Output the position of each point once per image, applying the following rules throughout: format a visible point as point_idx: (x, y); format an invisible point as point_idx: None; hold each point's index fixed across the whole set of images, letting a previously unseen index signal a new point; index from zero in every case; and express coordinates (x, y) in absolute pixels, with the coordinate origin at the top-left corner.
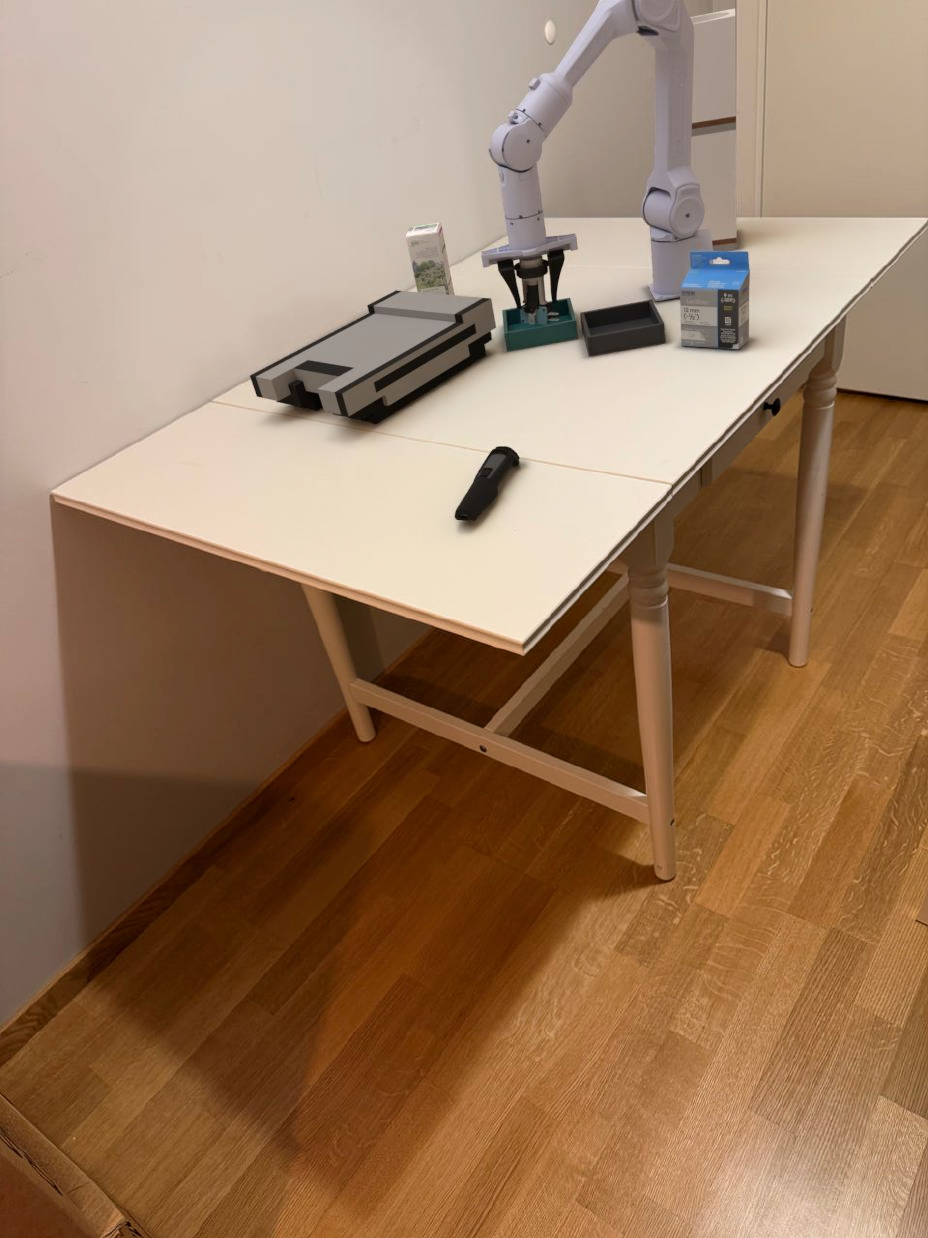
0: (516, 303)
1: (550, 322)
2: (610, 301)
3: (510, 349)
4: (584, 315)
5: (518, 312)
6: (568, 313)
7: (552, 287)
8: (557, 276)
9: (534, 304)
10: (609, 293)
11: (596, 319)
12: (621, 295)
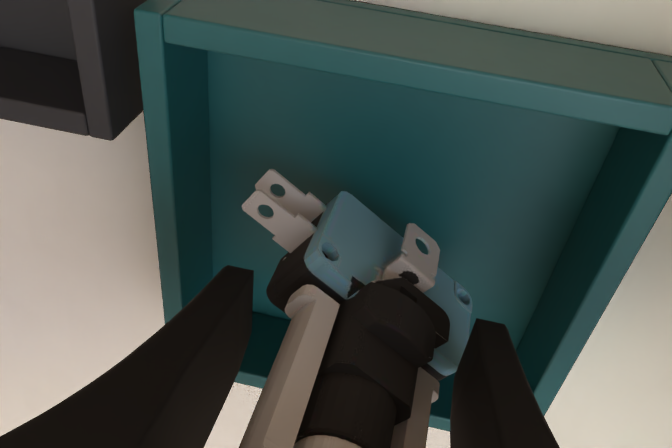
0: (516, 355)
1: None
2: (42, 322)
3: (650, 54)
4: (80, 72)
5: (446, 398)
6: None
7: (197, 339)
8: (99, 390)
9: (380, 303)
10: (53, 383)
11: (43, 74)
12: (4, 343)
